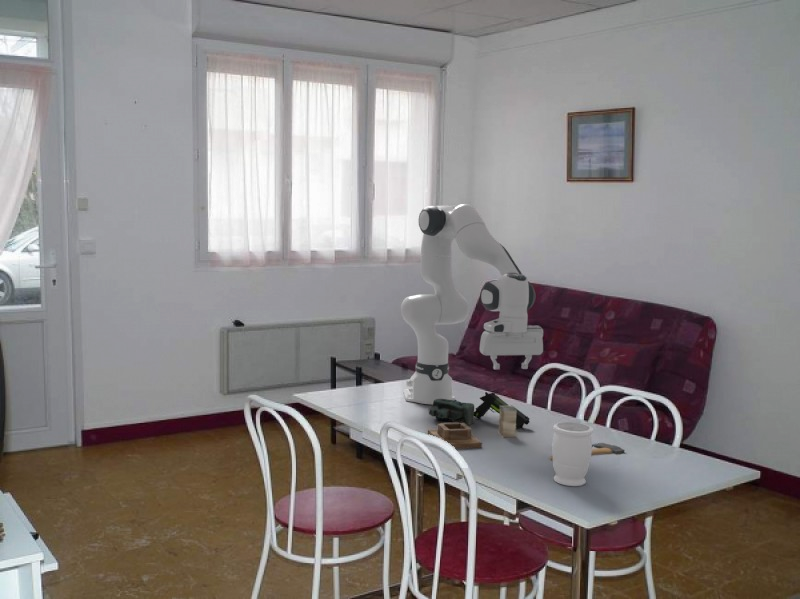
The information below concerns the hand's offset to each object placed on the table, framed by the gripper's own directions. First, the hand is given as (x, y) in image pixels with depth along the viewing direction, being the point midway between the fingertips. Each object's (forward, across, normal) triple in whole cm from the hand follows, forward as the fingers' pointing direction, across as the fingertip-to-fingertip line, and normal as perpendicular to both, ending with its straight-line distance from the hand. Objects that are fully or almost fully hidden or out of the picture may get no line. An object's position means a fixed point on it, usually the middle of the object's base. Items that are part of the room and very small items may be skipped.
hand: (510, 369), depth 264 cm
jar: (+22, 0, +44) cm, 49 cm away
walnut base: (+21, +19, +4) cm, 29 cm away
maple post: (+21, 0, 0) cm, 21 cm away
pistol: (+22, -3, -13) cm, 25 cm away
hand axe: (+22, -16, +21) cm, 34 cm away
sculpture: (+22, +12, -18) cm, 30 cm away
